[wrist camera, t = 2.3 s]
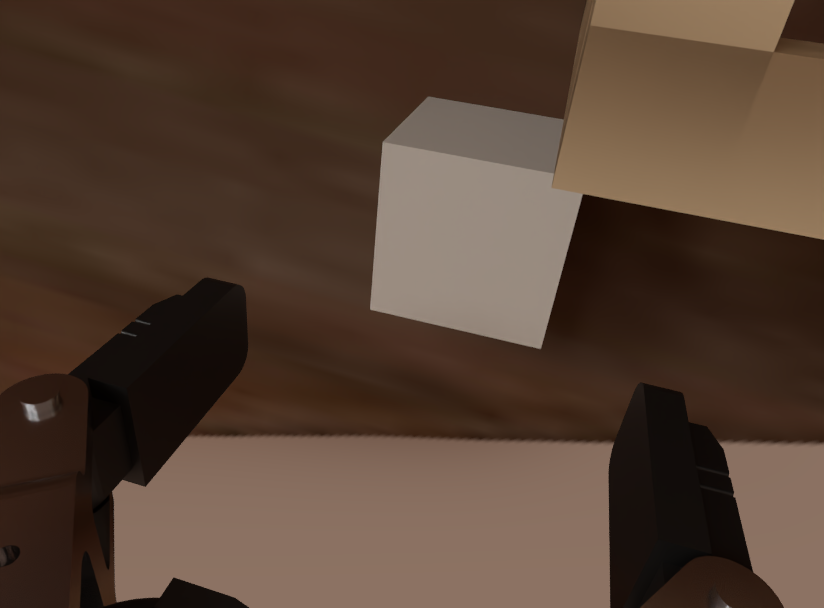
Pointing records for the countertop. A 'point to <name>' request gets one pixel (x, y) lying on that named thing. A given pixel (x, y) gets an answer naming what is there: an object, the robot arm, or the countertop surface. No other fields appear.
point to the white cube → (472, 221)
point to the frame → (697, 112)
